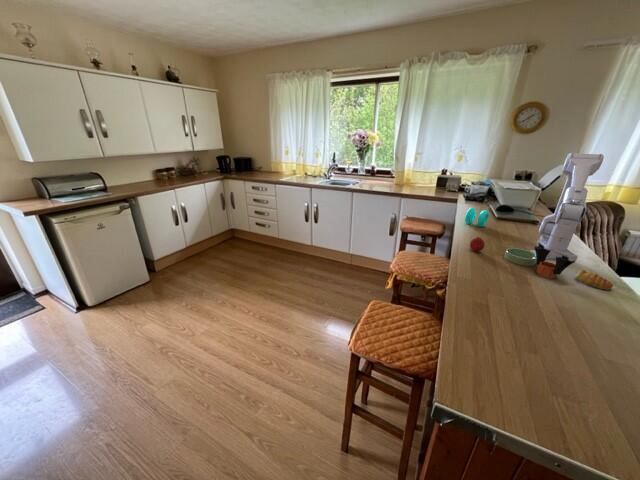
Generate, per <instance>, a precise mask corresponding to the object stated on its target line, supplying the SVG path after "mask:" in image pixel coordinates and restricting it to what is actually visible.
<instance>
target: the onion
mask: <svg viewBox="0 0 640 480" xmlns="http://www.w3.org/2000/svg"><path fill="white" fill-rule="evenodd" d="M481 237H482V236H481V235H477V237H474V238H472V239H471V240H470V242H469V248H470V249H471V250H472V251H473V252H475V253H476V252H477V253H478V252H480V251H482V250H484V248H485V246H486V245H485V241H484V239H483V238H481Z"/></svg>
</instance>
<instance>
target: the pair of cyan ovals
mask: <svg viewBox="0 0 640 480" xmlns="http://www.w3.org/2000/svg"><path fill="white" fill-rule="evenodd" d="M476 216H477V209H476V208H475V207H470V208H469V209H468V210H467V211H466V213H465V216H464V222H465V224H466V225H470V224H472V223H473V222H474V220H476V222H477V223H476V225H477V226H478V227H479V228H483V227H485V226H486V224H487V222H488V221H489V216H490V212H489V210H488V209H484V210H482V211H481V212H480V213H479V214H478V216H477V219H476Z"/></svg>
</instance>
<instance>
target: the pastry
mask: <svg viewBox="0 0 640 480" xmlns="http://www.w3.org/2000/svg"><path fill="white" fill-rule="evenodd" d="M574 278H575V280H577V281H578V282H579V283H582V284H585V285H588V286H590V287H593V288H595V289H600V290H606V291H608V290H612V289H613V287H614V284H613V283H612V282H611V281H610V280H608V279H606V278H604V277H603V276H601V275H599V274H597V273H594V272H592V271H587V270H585V269H581V270H579V272H578V273H577V275H576V276H575V277H574Z"/></svg>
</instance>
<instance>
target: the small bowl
mask: <svg viewBox="0 0 640 480" xmlns="http://www.w3.org/2000/svg"><path fill="white" fill-rule="evenodd" d="M555 265H556V263H553V262H549V261H546V260H545V261H543V262H540V263H539V265H537V268H536V271H535V273H536V274H537V275H539V276H540V277H545V278H548V279H554V278H555V279H556V276H557V275H554V274H553V271H554V269H555Z"/></svg>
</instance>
